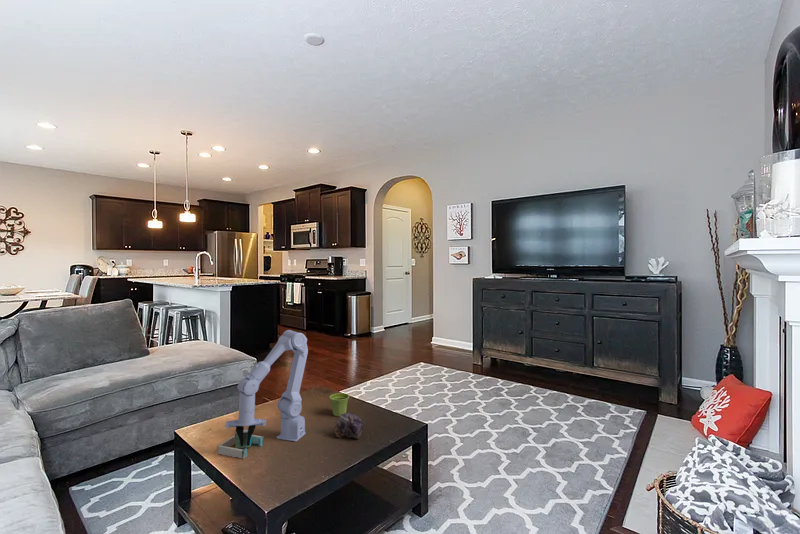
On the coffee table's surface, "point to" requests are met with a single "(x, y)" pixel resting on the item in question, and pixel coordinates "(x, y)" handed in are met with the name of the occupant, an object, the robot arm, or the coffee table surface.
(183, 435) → the coffee table surface
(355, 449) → the coffee table surface
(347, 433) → the rock
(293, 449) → the coffee table surface
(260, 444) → the white frame
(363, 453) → the coffee table surface
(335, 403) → the plant pot
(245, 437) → the puzzle toy
